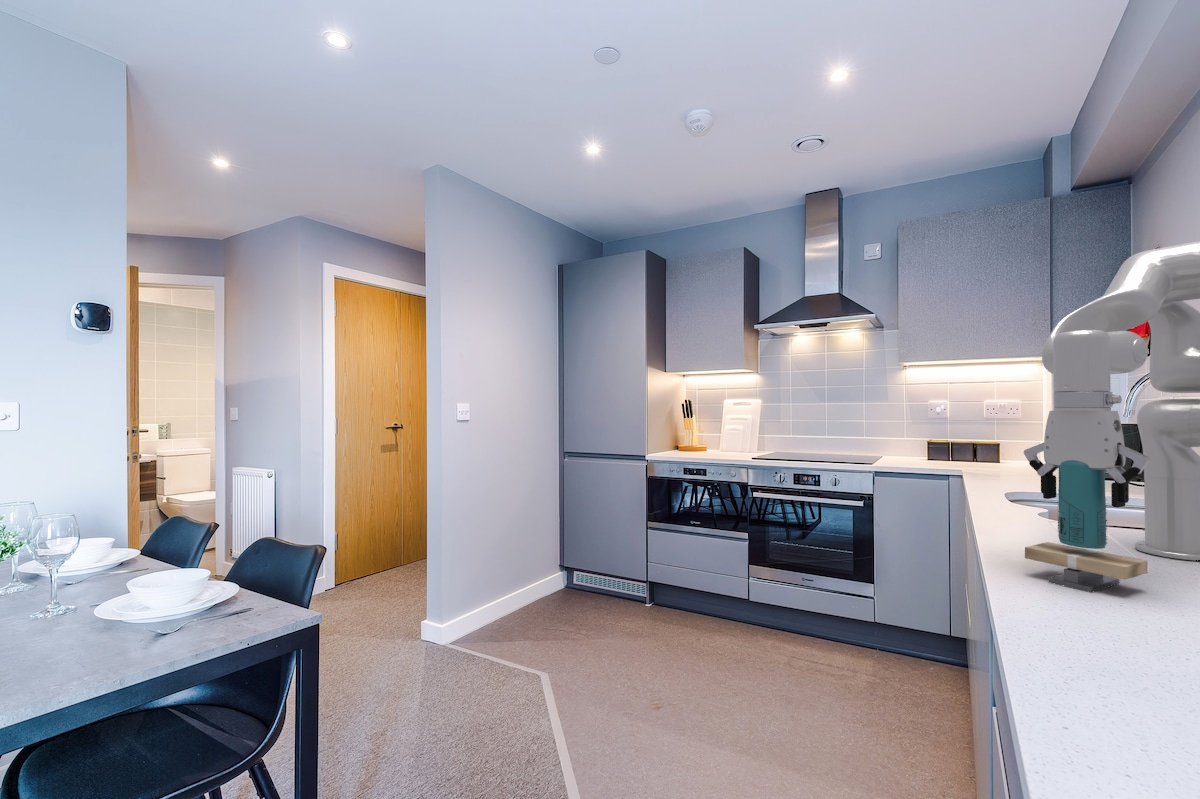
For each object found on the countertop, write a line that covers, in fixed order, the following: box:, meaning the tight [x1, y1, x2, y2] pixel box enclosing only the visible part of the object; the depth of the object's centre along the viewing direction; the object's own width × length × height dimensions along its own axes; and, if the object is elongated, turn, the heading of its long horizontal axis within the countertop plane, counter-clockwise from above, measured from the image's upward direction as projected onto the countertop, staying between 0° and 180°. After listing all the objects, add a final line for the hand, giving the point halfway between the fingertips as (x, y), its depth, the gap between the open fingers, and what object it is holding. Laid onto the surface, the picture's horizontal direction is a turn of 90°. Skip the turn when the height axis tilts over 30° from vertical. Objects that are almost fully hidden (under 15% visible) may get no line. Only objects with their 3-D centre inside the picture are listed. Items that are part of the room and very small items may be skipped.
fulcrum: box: [1048, 567, 1120, 593], centre depth 97 cm, size 10×6×3 cm, turn 118°
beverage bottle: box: [1056, 460, 1108, 550], centre depth 98 cm, size 6×7×20 cm
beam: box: [1024, 541, 1148, 581], centre depth 97 cm, size 8×14×2 cm, turn 28°
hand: (1082, 502), depth 97 cm, fingers open, 9 cm apart
